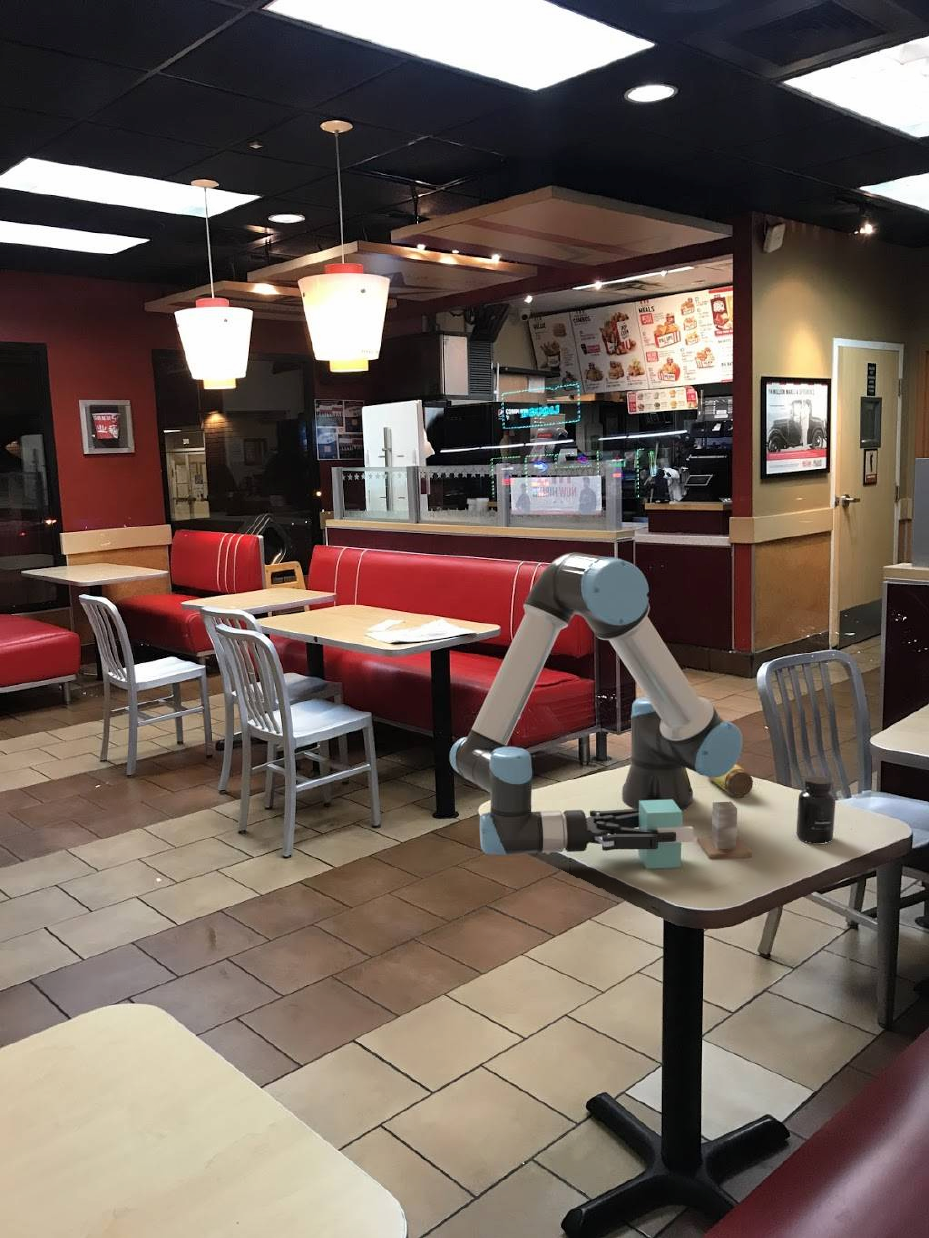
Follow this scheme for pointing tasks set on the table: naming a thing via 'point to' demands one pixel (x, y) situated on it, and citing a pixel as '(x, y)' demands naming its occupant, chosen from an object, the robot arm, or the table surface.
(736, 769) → the sauce bottle
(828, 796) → the supplement bottle
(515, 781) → the robot arm
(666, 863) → the tall teal pillar
